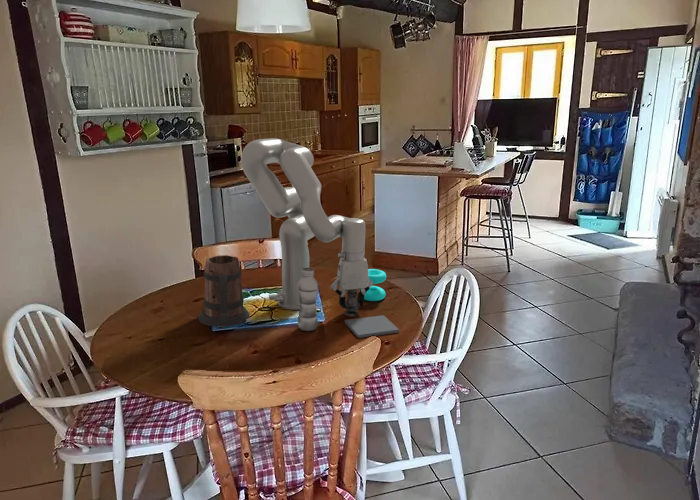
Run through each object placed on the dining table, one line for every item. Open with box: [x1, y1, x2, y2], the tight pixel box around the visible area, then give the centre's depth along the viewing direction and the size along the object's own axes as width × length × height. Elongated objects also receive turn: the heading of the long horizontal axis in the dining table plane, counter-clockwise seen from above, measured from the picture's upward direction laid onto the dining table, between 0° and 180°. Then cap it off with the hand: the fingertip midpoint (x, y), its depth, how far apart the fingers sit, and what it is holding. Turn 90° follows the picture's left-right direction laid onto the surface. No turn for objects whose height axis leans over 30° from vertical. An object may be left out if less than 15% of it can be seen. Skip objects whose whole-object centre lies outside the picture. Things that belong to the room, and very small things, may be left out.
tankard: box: [198, 254, 251, 327], centre depth 168 cm, size 24×17×20 cm
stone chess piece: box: [343, 289, 360, 317], centre depth 178 cm, size 6×6×12 cm
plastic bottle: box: [297, 267, 319, 332], centre depth 163 cm, size 6×7×20 cm
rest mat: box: [344, 314, 400, 339], centre depth 168 cm, size 14×12×1 cm
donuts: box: [358, 268, 387, 302], centre depth 193 cm, size 10×10×10 cm
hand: (351, 305), depth 178 cm, fingers closed on stone chess piece, 5 cm apart
